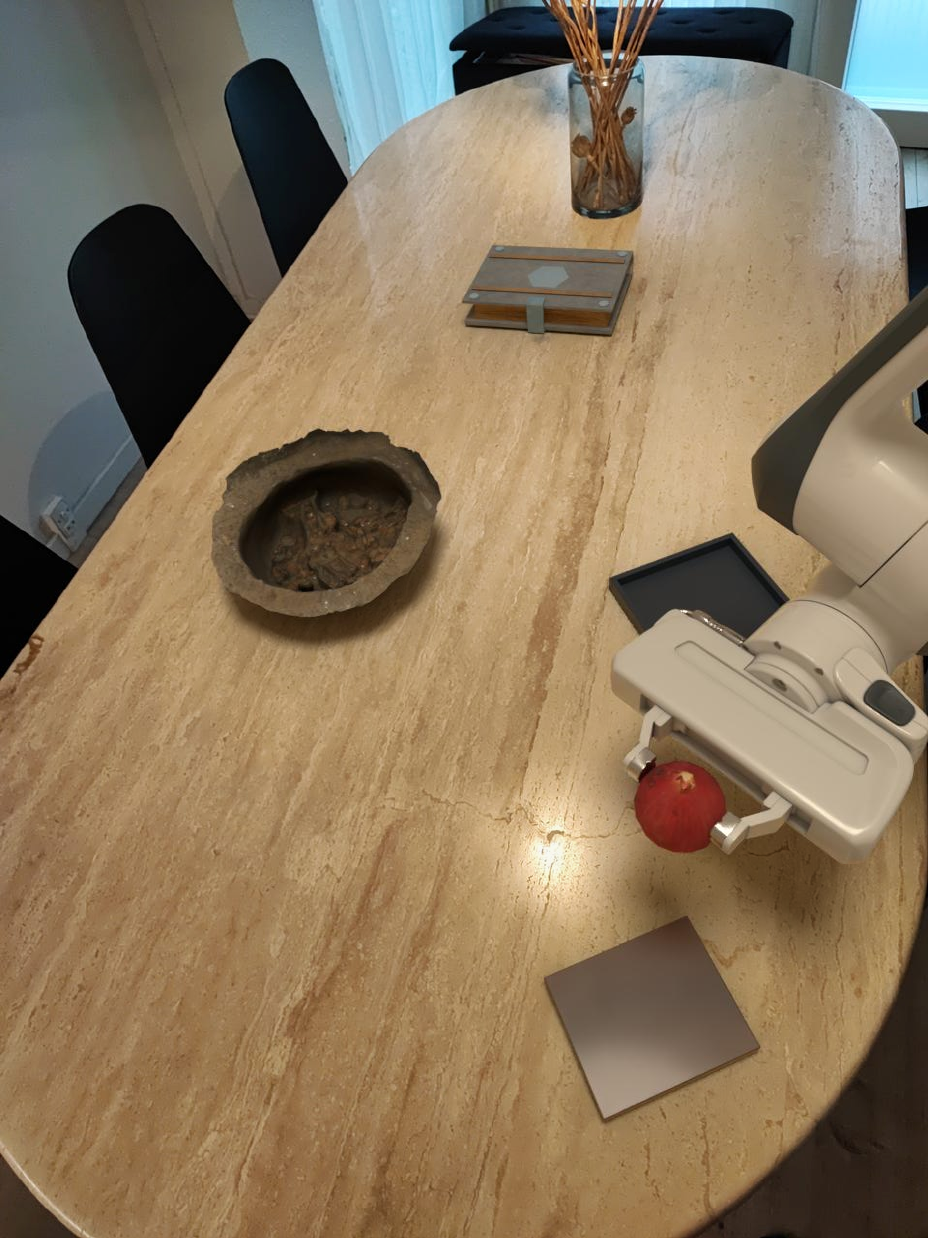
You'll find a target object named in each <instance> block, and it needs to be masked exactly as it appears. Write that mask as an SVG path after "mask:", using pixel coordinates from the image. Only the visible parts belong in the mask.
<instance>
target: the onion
mask: <svg viewBox="0 0 928 1238" xmlns="http://www.w3.org/2000/svg"><path fill="white" fill-rule="evenodd" d="M633 804H634V813H635V814H634V815H635V818H636V820H637V822H638V824H639V826H640V828H641V830H642V831H643V834H644V836H645V837H646V838H647V839H649V840H650V841H651V843H653V844H654V845H655V846H657V848H661V849H663V850H666V851H669V852H671V853H674V854H675V853H676V854H693V853H695V852H698V851H701V850H704V849H706V848H708V847H709V846H710V845H711V844H712V843H713V842H712V841H710V840H709V837H710V831H711V830H712V828H713V827H714V826H715V825H716V823H717V822H721V820H722V817H723V816H724V815H725V814H726V813H727V803H726V794H725V792H724V790H723V788H722V787H721V785H720V783H719V782H718V780H717V779H716V777H715V776H714V775H713V774H712V773H710V772H709V771H708V770H707V769H705V767H703V766H701V765H698V764H696V763H694V762H691V761H689V760H674V759H673V760H670V761H666V762H663V763H660V764H656V767H655V768H653V769H652V770H651V771H650V772H649V773H648V774H646V775H645V776H644V777H643V778H642V780H641V781H640V783H638V787H637V789H636V792H635V794H634V798H633Z"/></svg>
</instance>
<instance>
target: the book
mask: <svg viewBox="0 0 928 1238" xmlns="http://www.w3.org/2000/svg"><path fill="white" fill-rule="evenodd" d="M634 253H635V252H634V250H625V249H624V250H622V249H602V248H601V249H600V248H599V249H598V248H575V247H553V246H552V247H551V246H550V247H549V246H548V247H547V246H529V245H528V246H527V245H526V246H525V245H505V244H503V245H501V244H492V245H491V247H490V249H489V251H488V252H487V254H486V256H485V258H484V259H483V262H482V263H481V264H480V267H479V269H478V270H477V273H476V274H475V276H474V277H473V279H472V281H471V283H470V285H469V287H468V289H467V291H466V292H465V294H464V296H463V298H462V300H461V303H462V304H468V305H472V306H471V308H470V309H469V312H468V314H466V317H465V319H464V325H467V326H480V327H494V328H495V327H496V328H510V329H524V330H525V329H526V330H527V333H529V334H531V333H532V334H542V335H543V334H545V333H546V331H553V332H555V331H556V332H567V333H568V332H569V333H570V332H571V333H582V334H597V335H609V336H610V335H612V334H613V331H614V329H615V327H616V323H617V321H618V318H619V314H620V312H621V309H622V306H623V303H624V301H625V297H626V294H627V291H628V289H629V286H630V283H631V280H632V277H633V273H634V264H635V254H634Z"/></svg>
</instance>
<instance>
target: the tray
mask: <svg viewBox="0 0 928 1238" xmlns="http://www.w3.org/2000/svg"><path fill="white" fill-rule="evenodd" d="M608 590H609V591H610V593H611V594H612V596H613V597H614V598H615V600H616V602H617V603H618V604H619V606H620V608H621V609H622V610H623V612H624V614H625V615H626V617H627V618H628V619H629V621H630V622H631V625H633V627H634V628H635V630H636V631H637V633H638V634H639V635H641V634H642V633H644V632H645V631H647V630H649V629H650V628H652V627H653V626H654V624H655V623H656V622H657V621H658V620H659V619H660V618H662V617H663V616H664V615H665V614H666V613H667V612H669V611H671V610H673V609H678V610H680V609H682V610H689V611H692V612H694V611H695V610H699V611H702V612H704V613H706V614H707V615H709V616H710V617H711V618H712V619H713V620H714V621H716V622H718V623H719V624H721V625H723V626H725V627H727V628H729V629H731V630H733V631H734V632H736V633H737V634H739V635H741V636H742V637H744V638H745V639H748V638H749V637H750V636H751V635H752V634H753V633H754V632H755V631H756V630H757V629H758V628H759V627H760V626H761V625H762V624H764V623H765V622H766V621H767V620H768V619H769V618H770V617H771V616H772V615H773V614H774V613H775V612H776V611H777V610H778V609H779V608H780V607H781V606H782V605H784V604H785V603H786V602H788V601H789V600H791V599H790V598H789V597H788V595H787V594H786V593H785V592H784V591H783V590H782V588H781V587H780V586H779V585H778V584H777V582H776V581H775V580H774V579H773V578H772V577H771V576H770V574H769V573H768V572H767V571H766V570H765V568H763V566H762V565H761V563H760V562H758V561H757V559H756V558H755V557H754V556H753V554H752V553H751V552H750V551H749V550H748V549H747V547H746V546H745V545H744V544H743V543H742V542H741V540H740V539H739V538H738V537H737V536H736V535H735V534H734V532H733V531H732V532H729V533H726V534H724V535H721V536H719V537H716V538H713V539H710V540H707V541H704V542H701V543H699V544H697V545H694V546H691V547H688V548H686V549H682V550H680V551H678V552H674V553H672V554H669V555H667V556H664V557H661V558H659V559H656V560H653V561H651V562H647V563H644V564H642V565H640V566H637V567H634V568H632V569H629V570H627V571H623V572H621V573H618V574H615V575H612V576H610V577H608ZM689 617H690V616H689Z"/></svg>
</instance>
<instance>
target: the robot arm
mask: <svg viewBox="0 0 928 1238" xmlns="http://www.w3.org/2000/svg"><path fill="white" fill-rule="evenodd" d="M927 381H928V284H927V285H926V286H925V287H924V288H923V289H922V290H920V292H919V293H918V294H917V295H915V297H914V298H912V300H911V301H909V303H907V304H906V305H905V306H904V307H903V308H902V309H901V310H900V311H899V312H898V313H897V314H896V315H895V316H894V317H893V318H892V319H891V320H890V321H888V323H887V324H886V325H884V326H883V327H882V329H880V330H879V332H877V333H876V334H875V335H874V336H873V337H872V338H871V339H870V340H869V341H868V342H867V343H866V344H865V345H864V346H862V348H861V349H860V350H859V351H858V352H856V354H854V356H853V357H851V358H850V359H849V360H848V361H847V362H846V363H845V364H844V365H843V366H842V367H841V368H840V369H839V370H838V371H837V372H835V374H834V375H833V376H832V377H830V379H829V380H828V381H826V382H825V383H824V384H823V385H821V386H820V387H818V388H817V389H815V390H813V391H811V392H810V393H809V394H807V395H806V396H805V397H803V398H802V399H800V400H799V401H798V402H796V403H795V404H794V405H792V406H791V407H790V408H789V409H788V410H787V411H785V413H783V414H782V415H781V416H780V417H779V418H778V419H777V420H776V421H775V422H774V423H773V424H772V426H771V427H769V429H768V430H767V432H766V433H765V434H764V435H763V437H762V439H761V441H760V442H759V444H758V445H757V448H756V451H755V453H753V455H752V457H751V459H750V460H751V462H750V463H751V464H750V468H751V471H750V472H751V483H752V488H753V489H752V490H753V495H754V500H755V503H756V508H757V509H758V510H759V511H760V512H762V513H764V514H765V515H766V516H768V517H769V518H771V519H772V520H773V521H775V522H777V523H778V524H779V525H781V526H782V527H784V528H785V529H787V530H788V531H789V532H791V533H792V534H794V535H795V536H799V537H800V538H802V539H803V540H804V541H805V542H807V543H808V544H809V545H810V546H812V548H814V549H815V550H816V551H817V552H819V554H821V555H822V556H823V557H825V558H826V559H827V560H829V561H827V563H825V564H824V565H823V566H822V567H821V568H820V569H819V570H818V571H817V572H815V574H814V575H813V576H812V578H811V579H810V581H809V582H808V584H807V587H806V588H805V590H804V592H803V593H802V594H800V595H797V596H795V597H793V598H791V599H790V600H789V601H788V602H786V603H785V604H784V605H782V606H781V607H780V608H779V609H778V610H777V611H776V612H775V613H774V614H773V615H772V616H771V617H770V618H769V619H768V620H767V621H766V622H765V623H764V624H762V625H761V626H760V627H759V628H758V629H757V630H756V631H755V632H754V633H753V634H752V635H751V636H750V637H749V638H748V639H745V638H744V637H742V636H741V635H739V634H737V633H736V632H734V631H733V630H731V629H729V628H727V627H725V626H723V625H721V624H719V623H718V622H716V621H714V620H713V619H712V618H711V617H710V616H709V615H707V614H706V613H704V612H702V611H699V610H695V611H694V612H692V611H689V610H682V609H680V610H678V609H673V610H671V611H669V612H667V613H666V614H665V615H664V616H663V617H662V618H660V619H659V620H658V621H657V622H656V623H655V624H654V626H653V627H652V628H650V629H649V630H647V631H645V632H644V633H642V634H641V635H640V634H639V635H638V636H636V637H634V638H633V639H632V640H631V641H630V642H628V643H627V644H626V645H624V646H623V647H621V648H620V649H619V650H618V651H617V652H616V653H615V654H614V655H613V657H612V659H611V662H610V663H611V664H610V688H611V692H612V693H613V695H614V696H615V697H617V698H618V699H619V700H621V701H622V702H624V703H625V704H626V705H627V706H629V707H630V708H631V709H633V710H634V711H635V712H637V713H638V714H639V715H641V716H642V717H643V720H642V724H641V729H640V733H639V738H638V743H637V744H636V746H634V747H633V748H632V749H631V750H630V751H629V752H628V753H627V754H625V755H624V757H623V759H622V761H621V771H622V772H624V773H625V774H627V776H629V777H631V779H633V780H634V781H635V782H637V784H640V781H641V780H642V778H643V777H644V776H645V775H646V774H648V773H649V772H650V771H651V770H652V769H653V768H655V767H656V766H657V760H658V755H657V754H656V753H655V752H653V751H652V750H651V749H650V748H651V744H652V740H654V741H655V742H657V743H661V742H662V741H663V740H664V739H665V738H666V737H668V736H669V737H670V738H671V739H673V740H674V741H675V742H677V743H678V744H680V745H681V746H682V747H683V748H685V749H686V750H687V751H688V752H690V753H692V754H693V755H694V756H696V757H697V758H699V759H700V760H701V761H702V762H704V763H705V764H707V765H708V766H709V767H711V769H713V770H715V771H716V772H717V773H719V774H720V775H721V776H723V777H724V778H725V779H727V780H728V781H729V782H731V783H732V784H734V785H735V787H737V788H739V789H740V790H741V791H743V792H744V793H745V794H746V795H748V796H749V797H751V798H752V799H754V801H756V802H757V803H759V804H760V805H761V808H760V810H759V812H757V813H754V814H750V815H745V816H744V817H740V818H739V817H738V816H737V815H735V814H734V813H733V812H731V810H728V811H726V814H725V815H724V816H723V817H722V820H721V822H717V823H716V825H715V826H714V827H713V828H712V830H711V831H710V837H709V840H710V841H712V842H711V843H713V844H714V845H715V846H716V847H717V848H719V850H721V851H722V852H723V853H725V854H726V855H730V854H731V853H733V851H734V850H736V848H737V847H738V846H739V845H740V844H741V843H742V842H743V840H748V839H754V838H757V837H762V836H767V835H771V834H774V833H777V832H778V831H779V829H780V828H782V826H783V825H784V824H785V823H786V825H788V826H790V827H791V828H792V829H793V830H795V831H796V832H798V833H799V834H800V835H802V837H804V838H806V839H807V840H808V841H809V842H811V843H812V844H814V845H815V846H816V847H818V848H819V849H820V850H822V851H823V852H824V853H826V854H827V855H828V856H830V857H831V858H832V859H834V860H835V861H837V862H838V863H840V864H841V865H852V864H859V863H860V864H861V863H863V862H865V860H866V859H868V857H869V855H870V854H871V853H872V851H873V850H874V848H875V847H876V846H877V844H878V842H879V841H880V840H881V838H882V837H883V835H884V833H885V832H886V831H887V829H888V827H889V826H890V824H891V822H892V820H893V819H894V817H895V815H896V813H897V811H898V809H899V807H900V805H901V804H902V802H903V800H904V798H905V796H906V795H907V792H908V790H909V788H910V785H911V783H912V781H913V778H914V773H915V772H914V771H915V765H916V764H917V762H918V761H919V760H920V758H921V756H922V754H923V752H924V750H925V748H926V746H927V743H928V715H927V714H926V712H924V711H923V710H922V709H921V708H920V707H919V706H918V705H917V704H916V703H915V702H914V700H912V699H911V698H910V697H909V696H908V694H907V693H905V691H904V690H902V689H901V687H899V685H898V684H897V683H896V682H895V681H894V680H893V679H892V677H891V675H892V674H893V672H894V670H895V669H896V668H897V667H898V666H900V665H902V664H904V663H906V662H908V661H910V660H911V659H913V658H914V657H915V656H919V657H920V656H921V657H922V656H928V434H927V433H926V432H925V431H923V430H922V429H920V428H919V427H918V426H917V425H915V424H914V423H913V422H912V420H911V419H910V418H909V417H908V414H906V411H905V409H904V406H903V401H904V400H905V399H906V398H908V397H909V396H910V395H911V394H912V393H914V392H915V391H916V390H917V389H918V388H919V387H921V386H923V384H924V383H926V382H927ZM689 616H690V617H689Z"/></svg>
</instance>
